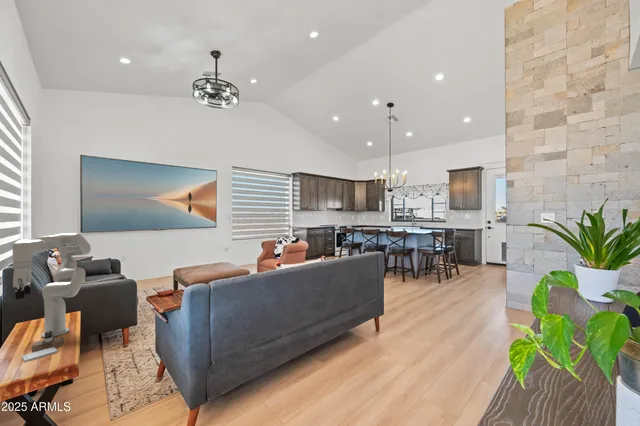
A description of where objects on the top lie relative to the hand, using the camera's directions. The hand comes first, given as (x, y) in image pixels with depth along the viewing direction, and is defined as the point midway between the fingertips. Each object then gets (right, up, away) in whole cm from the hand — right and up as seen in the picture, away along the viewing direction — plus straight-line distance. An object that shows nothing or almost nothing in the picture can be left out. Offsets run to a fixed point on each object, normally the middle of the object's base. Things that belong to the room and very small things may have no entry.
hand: (23, 296), depth 153 cm
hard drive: (+11, -31, -2) cm, 33 cm away
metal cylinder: (+6, -30, +8) cm, 32 cm away
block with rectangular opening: (+6, -30, +7) cm, 32 cm away
